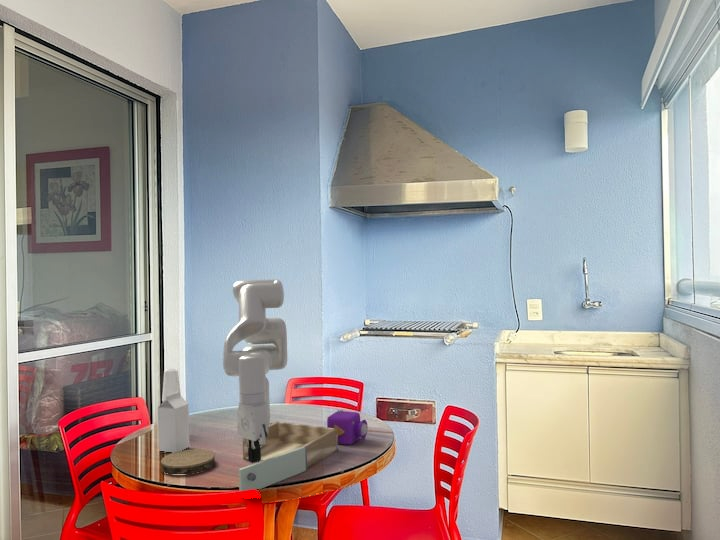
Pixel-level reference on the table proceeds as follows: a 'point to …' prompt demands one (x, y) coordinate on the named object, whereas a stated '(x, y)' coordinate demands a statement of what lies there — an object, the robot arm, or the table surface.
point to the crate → (298, 441)
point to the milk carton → (173, 424)
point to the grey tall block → (170, 383)
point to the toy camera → (347, 426)
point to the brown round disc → (188, 461)
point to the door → (273, 469)
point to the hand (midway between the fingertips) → (254, 460)
